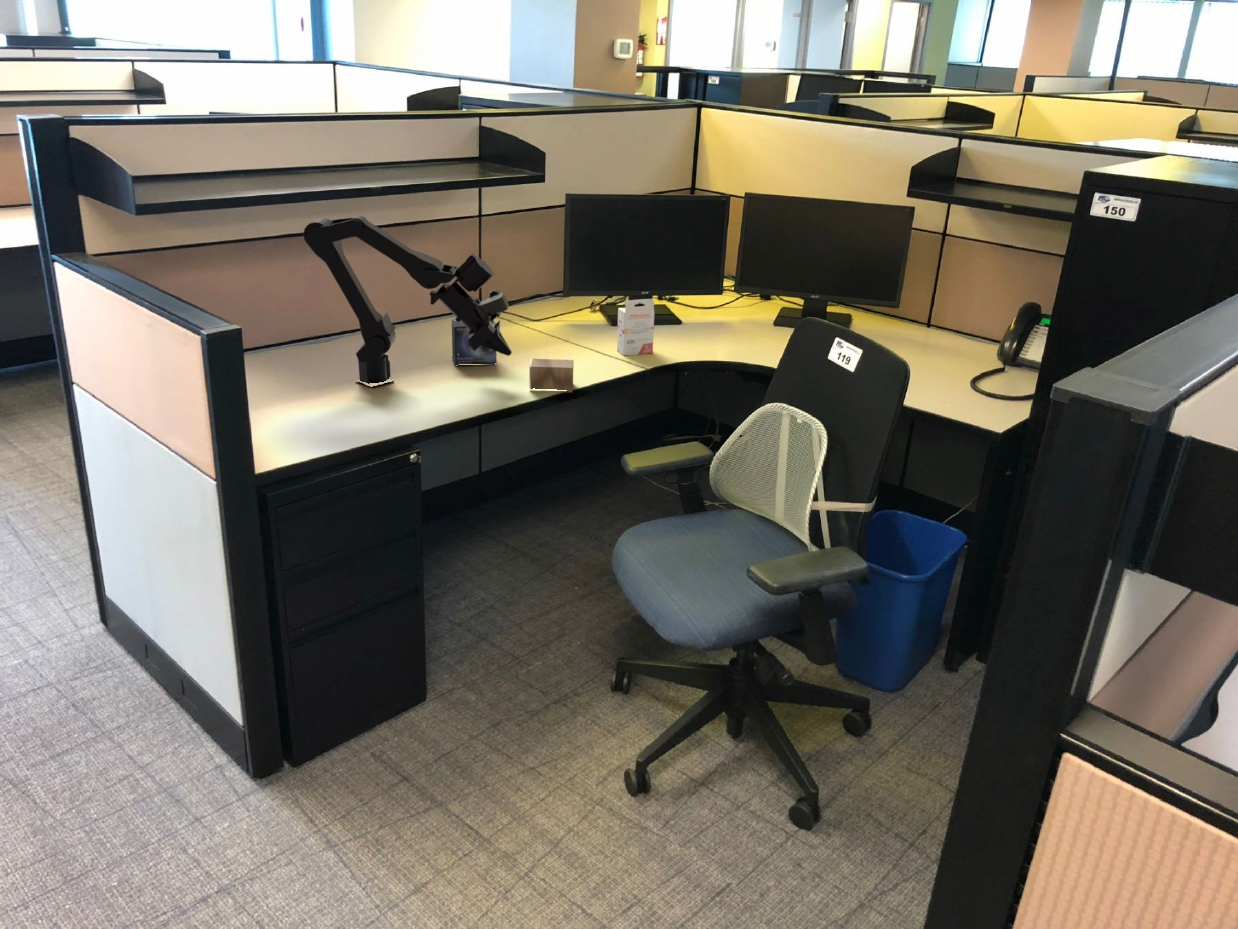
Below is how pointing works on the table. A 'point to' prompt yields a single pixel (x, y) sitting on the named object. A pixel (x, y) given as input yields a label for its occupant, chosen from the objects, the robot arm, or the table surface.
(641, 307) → the ink cartridge box
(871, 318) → the table surface
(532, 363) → the walnut block
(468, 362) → the small box
